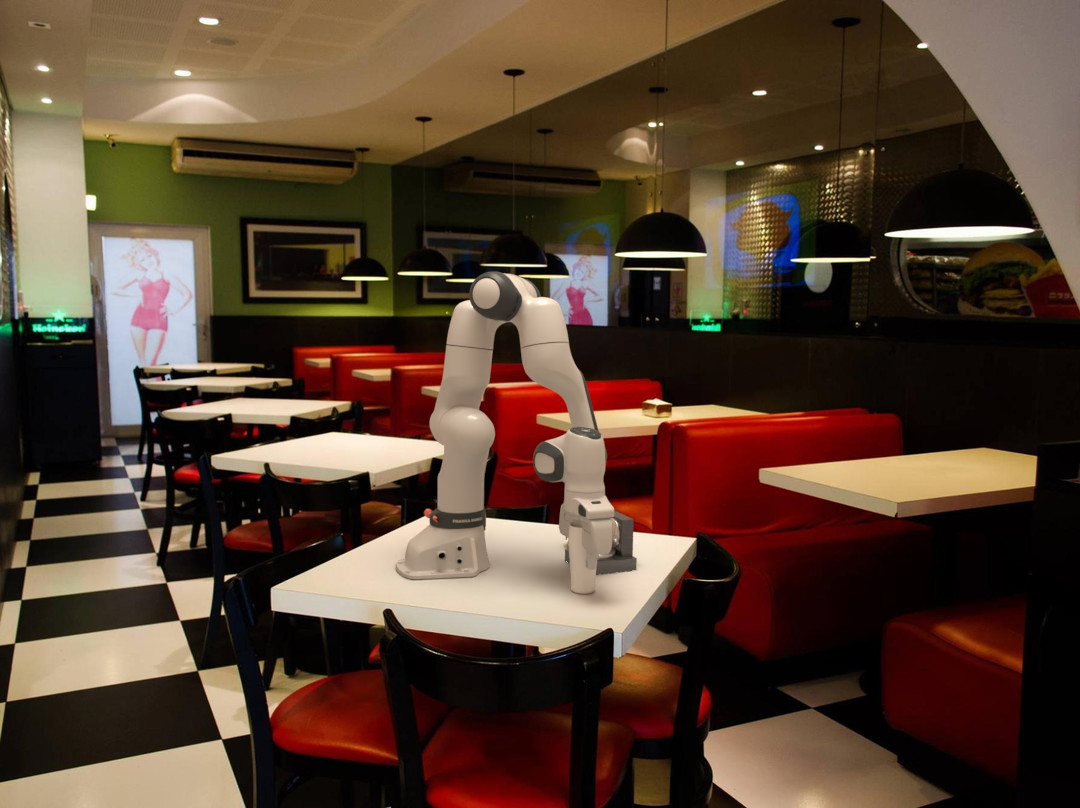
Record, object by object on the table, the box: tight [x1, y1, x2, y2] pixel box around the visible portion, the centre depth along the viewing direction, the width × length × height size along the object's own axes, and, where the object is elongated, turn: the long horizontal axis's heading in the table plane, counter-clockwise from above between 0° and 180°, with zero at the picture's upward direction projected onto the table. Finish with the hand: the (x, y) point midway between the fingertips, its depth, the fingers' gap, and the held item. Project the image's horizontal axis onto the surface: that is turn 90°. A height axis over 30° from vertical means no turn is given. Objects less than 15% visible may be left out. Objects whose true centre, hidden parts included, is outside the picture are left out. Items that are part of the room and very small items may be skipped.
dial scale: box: [564, 510, 637, 576], centre depth 205 cm, size 13×13×12 cm
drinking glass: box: [567, 522, 597, 595], centre depth 186 cm, size 7×7×15 cm
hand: (583, 563), depth 186 cm, fingers closed on drinking glass, 6 cm apart
